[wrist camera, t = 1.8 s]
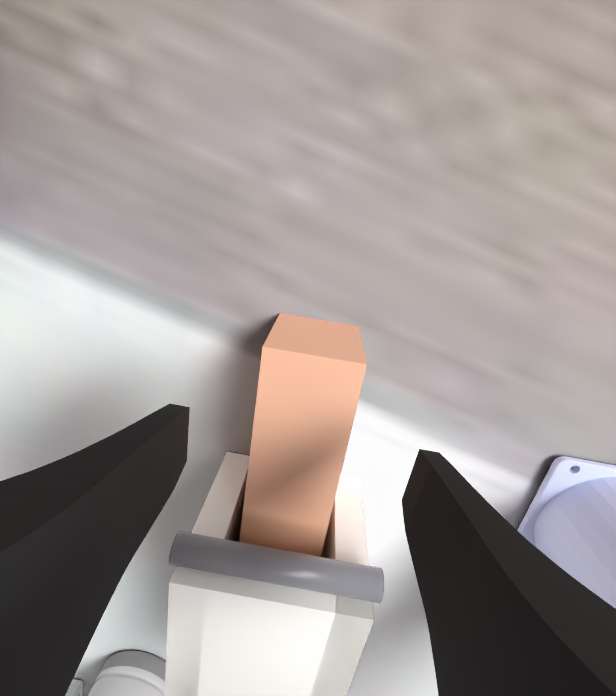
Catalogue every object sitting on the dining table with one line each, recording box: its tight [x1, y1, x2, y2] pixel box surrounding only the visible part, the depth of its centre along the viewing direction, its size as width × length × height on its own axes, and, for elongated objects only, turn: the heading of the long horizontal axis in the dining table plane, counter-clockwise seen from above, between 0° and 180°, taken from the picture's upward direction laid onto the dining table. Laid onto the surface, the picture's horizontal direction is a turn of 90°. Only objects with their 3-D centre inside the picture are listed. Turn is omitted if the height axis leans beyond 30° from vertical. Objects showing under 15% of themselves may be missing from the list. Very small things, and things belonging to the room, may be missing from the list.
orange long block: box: [239, 313, 367, 557], centre depth 19 cm, size 4×16×5 cm, turn 171°
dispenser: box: [165, 452, 384, 696], centre depth 20 cm, size 8×15×8 cm, turn 170°
